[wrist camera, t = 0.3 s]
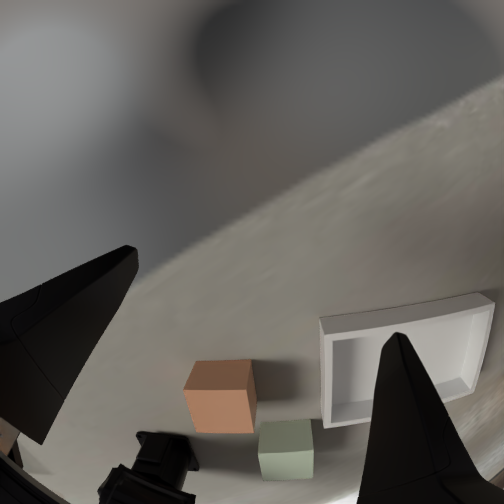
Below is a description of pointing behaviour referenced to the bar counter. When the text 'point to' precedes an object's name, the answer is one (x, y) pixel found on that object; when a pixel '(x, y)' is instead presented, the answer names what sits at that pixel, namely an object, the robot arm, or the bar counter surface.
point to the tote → (423, 340)
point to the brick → (222, 396)
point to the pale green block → (286, 450)
